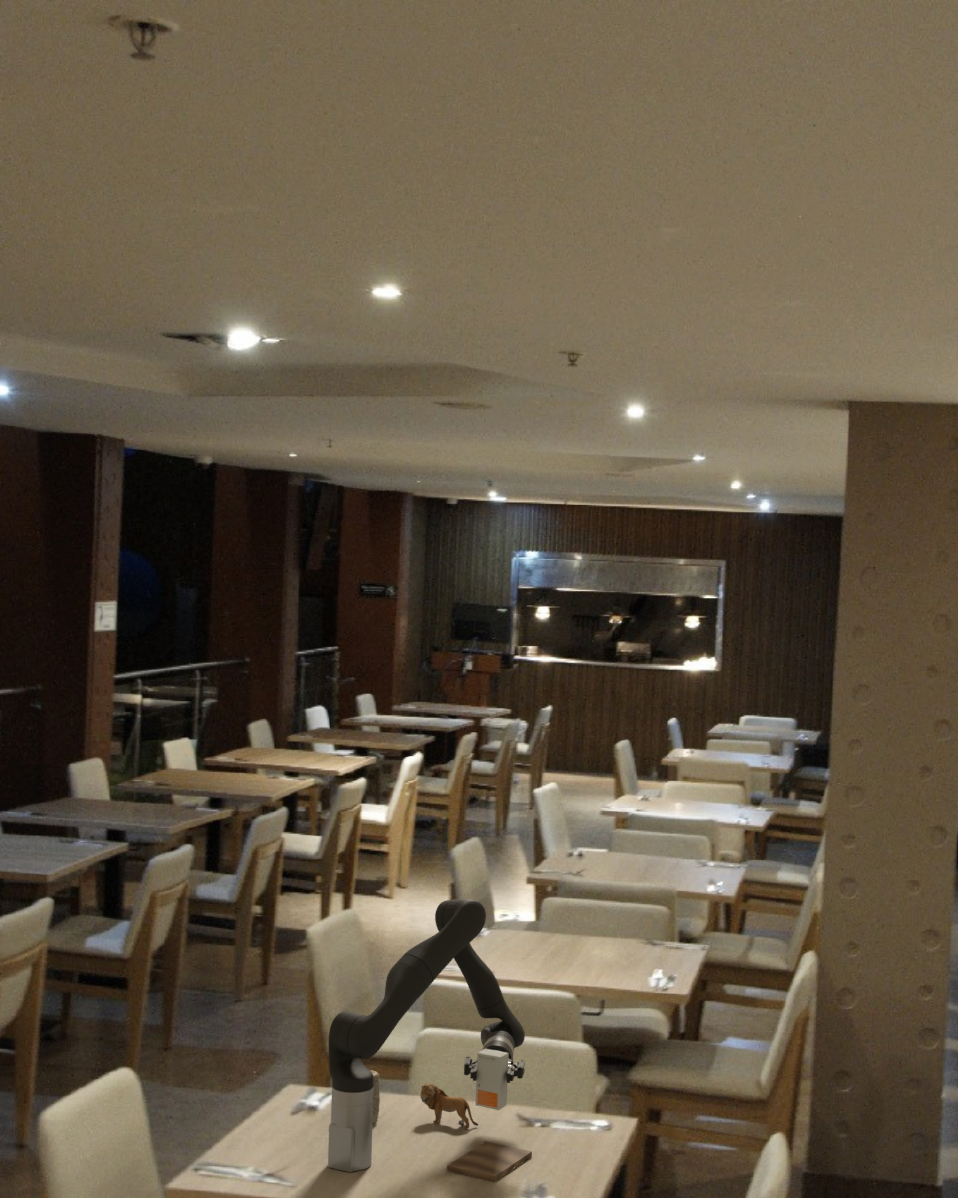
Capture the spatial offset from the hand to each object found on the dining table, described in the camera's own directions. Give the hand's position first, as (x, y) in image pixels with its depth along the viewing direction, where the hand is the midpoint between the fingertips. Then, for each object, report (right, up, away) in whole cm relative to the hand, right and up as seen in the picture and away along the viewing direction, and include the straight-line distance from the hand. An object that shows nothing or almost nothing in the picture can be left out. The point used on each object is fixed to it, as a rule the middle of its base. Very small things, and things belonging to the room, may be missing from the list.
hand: (491, 1077), depth 348 cm
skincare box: (0, -7, +2) cm, 8 cm away
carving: (-30, -19, +27) cm, 45 cm away
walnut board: (0, -20, +2) cm, 20 cm away
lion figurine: (-11, -20, +28) cm, 36 cm away
